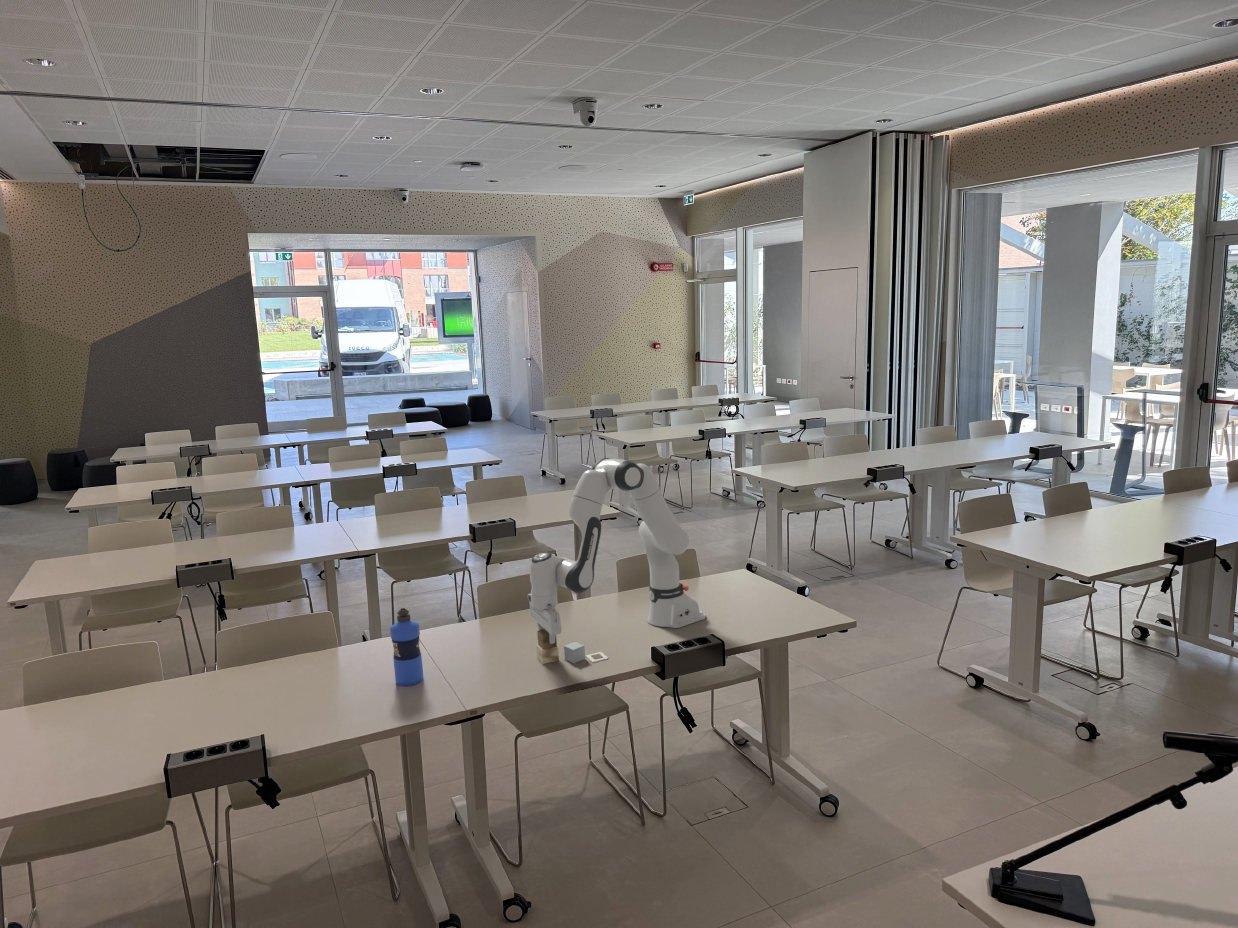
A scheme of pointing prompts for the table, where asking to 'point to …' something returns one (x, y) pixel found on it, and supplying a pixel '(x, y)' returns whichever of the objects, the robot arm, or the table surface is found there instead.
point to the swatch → (596, 657)
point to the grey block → (574, 652)
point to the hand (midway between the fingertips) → (546, 638)
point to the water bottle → (406, 650)
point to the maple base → (547, 654)
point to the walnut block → (545, 640)
